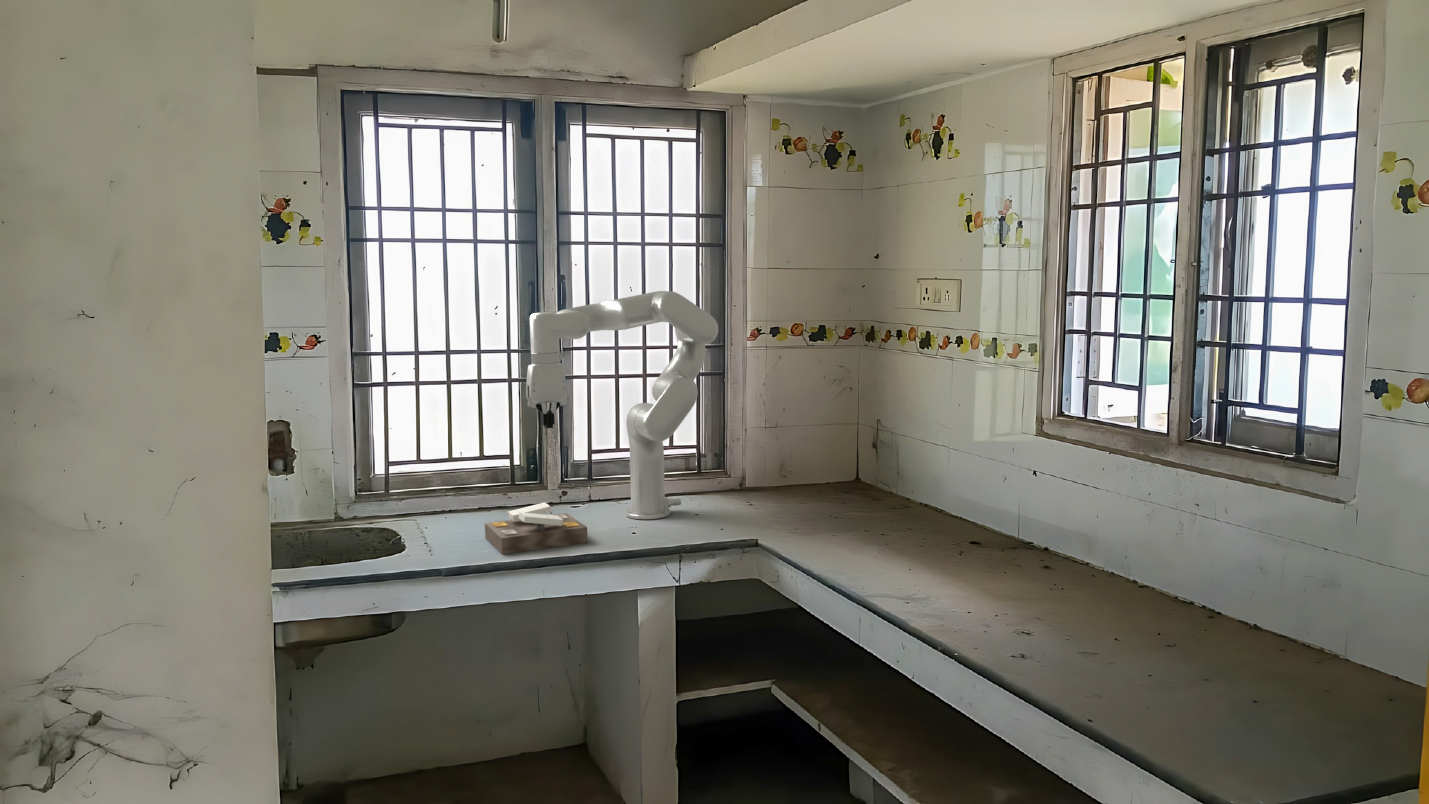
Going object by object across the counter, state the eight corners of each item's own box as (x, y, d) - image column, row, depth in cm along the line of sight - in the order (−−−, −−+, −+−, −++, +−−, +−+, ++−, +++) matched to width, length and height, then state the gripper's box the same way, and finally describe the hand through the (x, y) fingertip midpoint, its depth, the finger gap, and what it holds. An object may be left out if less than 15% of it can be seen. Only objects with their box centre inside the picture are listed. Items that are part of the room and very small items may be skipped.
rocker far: (545, 507, 274) (544, 502, 274) (551, 511, 269) (550, 506, 269) (508, 517, 270) (507, 511, 270) (513, 521, 265) (512, 515, 265)
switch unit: (566, 527, 279) (566, 507, 278) (587, 542, 264) (586, 521, 263) (485, 538, 269) (484, 517, 269) (502, 554, 254) (501, 532, 253)
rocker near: (556, 521, 266) (557, 515, 266) (562, 525, 262) (563, 519, 262) (518, 518, 262) (519, 512, 262) (524, 522, 257) (525, 516, 257)
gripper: (568, 356, 281) (570, 423, 284) (514, 359, 275) (517, 428, 277) (577, 358, 274) (579, 427, 277) (521, 361, 268) (524, 432, 270)
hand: (548, 427), depth 277 cm, fingers closed
